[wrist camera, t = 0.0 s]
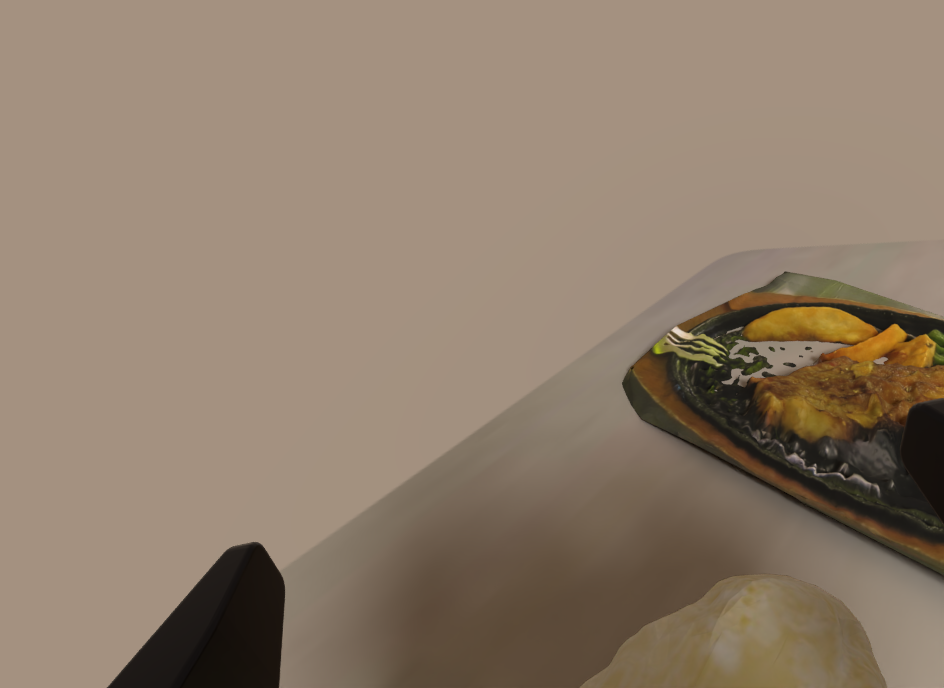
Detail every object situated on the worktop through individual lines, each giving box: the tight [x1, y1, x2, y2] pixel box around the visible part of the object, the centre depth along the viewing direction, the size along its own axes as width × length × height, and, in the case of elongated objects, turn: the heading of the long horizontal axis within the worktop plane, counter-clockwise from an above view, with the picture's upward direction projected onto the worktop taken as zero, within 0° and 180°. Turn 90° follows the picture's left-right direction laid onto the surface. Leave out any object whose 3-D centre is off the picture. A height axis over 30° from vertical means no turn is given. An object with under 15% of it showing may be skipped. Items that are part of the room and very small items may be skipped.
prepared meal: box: [622, 272, 944, 575], centre depth 27 cm, size 28×4×18 cm
